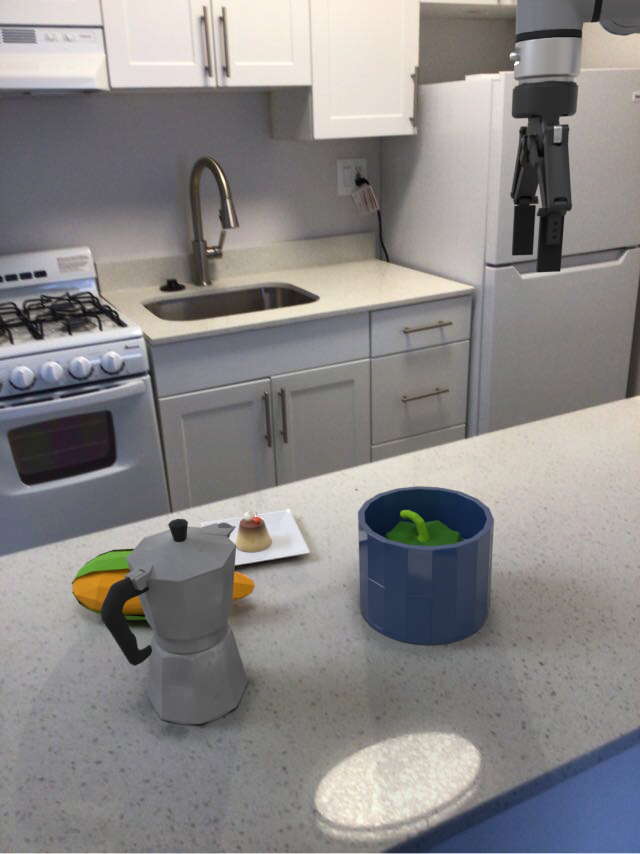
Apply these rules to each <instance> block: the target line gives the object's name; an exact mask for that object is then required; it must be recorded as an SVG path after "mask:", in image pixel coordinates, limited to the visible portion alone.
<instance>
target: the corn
mask: <svg viewBox="0 0 640 854" xmlns="http://www.w3.org/2000/svg"><path fill="white" fill-rule="evenodd" d="M134 549H135V547H134V548H120V549H119V548H118V549H117V548H116V549H112V550H109V551H105V552H103V553H100V554H98V555H96V556H94V557H93V558H92V559H90V560H89V561H87V562H86V563H85V564H84V565H83V566H82V567H80V569H79V570H78V572H77V573H76V575H75V576H74V578H73V579H72V582H71V583H70V584H71V587H72V595H73V596H74V598H75V599H76V601H77V603H78V604H79V605H81V606H82V607H83V608H84V609H86V610H87V611H89V612H92V613H95V614H97V615H99V616H101V607H102V604H103V602H104V600H105V598H106V596H107V593H108V591H109V589H110V587H111V586H112V585H113V584H114V583H116V582H118V581H120V580H122V579H124V578H125V575H126V574H128V573H129V572H131V571H130V568H129V565H128V562H127V560H126V558H127V557H128V555H129V554H130V553H131V552H132V551H133V550H134ZM255 588H256V584H255V583H254V581H253V579H251V578H250V577H248V576H247V575H246V574H244V573H242V572H238V571H236V570H234V584H233V598H232V603H233V602H236V601H239V600H242V599H244V598H246V597H247V596H249V595H251V594H252V593H253V591H254V589H255ZM122 613H123V614H124V615H125V617H126V619H127V621H147V620H146V617H145V614H144V611H143V608H142V605H141V602H140V599H139V596H136V597H134V598H131V599H130V600H128V601H127V602H126V603H125V604H124V607H123V610H122Z"/></svg>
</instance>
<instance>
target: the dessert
mask: <svg viewBox="0 0 640 854" xmlns="http://www.w3.org/2000/svg"><path fill="white" fill-rule="evenodd" d="M215 523H217V524H220V523H228V524H230V525H231V526H235V527H236V528H235V529H234V530H233V531H232V533H231V534H230V537H229V539H230V540H231V541H232V542H233V543H234V544H236V556H235V567H240V566H246V565H252V564H259V563H263V562H269V561H275V560H281V559H288V558H289V559H290V558H295V557H298V556H299V557H300V556H302V555H307V554H310V553H311V551H310V549H309V547H308V544H307V542H306V540H305V538H304V536H303V534H302V532H301V530H300V528H299V526H298V524H297V522H296V519H295V518H294V515H293V514H292V511H291V510H290V509H289V508H288V509H282V510H275V511H269V512H262V513H258V512H255V513H254V512H253V511H252V510H247V511H246V512H244V515H243V516H236V517H235V516H234V517H230V518H223V519H217V520H210V521H203V522H200V528H202V527H204V526H208V525H211V524H215Z"/></svg>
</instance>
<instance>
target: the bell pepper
mask: <svg viewBox="0 0 640 854" xmlns="http://www.w3.org/2000/svg"><path fill="white" fill-rule="evenodd" d="M400 516H401V517H402V519H410V520H412V521H413V522H414V523H415V524H414V523H409V522H402V521H400V522H399V523H398V524H397V525H396V526H395V527H394V528H393V529H392V531H391V532H389V533H386V535H385V537H384V538H386V539H388V540H392V541H396V542H400V543H404V544H408V545H419V546H439V545H448V544H455V543H458V542H461V541H463V540H462V537H461V535H460V533H459V532H456V531H453V530H451V529H449V528H448V527H447V526H445V525H444V524H443V523H441V522H440V521H439V520H436V521H430V522H424V520H423V519H422V518H421V517H420V516H419V515H418V514H417V513H415V512H412V511H410V510H403V511H401V512H400Z"/></svg>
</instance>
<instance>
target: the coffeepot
mask: <svg viewBox="0 0 640 854" xmlns="http://www.w3.org/2000/svg"><path fill="white" fill-rule="evenodd" d="M167 525H168V528H169V529H167V530H164V531H161V532H158V533H155V534H152V535H149V536H148V535H147V536H144V537H142V539H141V540H140V541H139V543H138V544H137V545H136V546H135V547H134V548H135V549H134V548H133V549H134V550H133V551H132V552H131V553H130V554H129V555H128V557H127V558H126V560H127V562H128V565H129V568H130V571H131V572H129V573H128V574H126V575H125V578H124V579H122V580H120V581H118V582H116V583H114V584H113V585H112V586H111V587H110V589H109V591H108V593H107V596H106V598H105V600H104V602H103V604H102V607H101V615H100V617H101V619H102V622H103V624H104V626H105V627H106V628H107V630H108V631H109V633H110V634H111V636H112V638H113V640H114V641H115V643H116V644H117V646H118V647H119V649H120V650H121V652H122V654H123V656H124V657H125V658H126V660H127V662H128V664H130V665H131V666H138V665H140V664H142V663H143V662H145V661H146V660H147V659H148V658H149V664H148V668H149V669H148V680H147V681H148V684H147V698H148V700H149V701H150V703H151V705H152V707H153V709H154V711H155V712H156V713H157V714H158V716H159V717H160V719H161V720H163V721H166V722H168V723H169V722H170V723H173V724H177V725H183V726H184V725H185V726H193V725H202V724H207V723H211V722H213V721H216V720H219V719H221V718H222V717H224V716H226V715H228V714H229V713H230V712H231V711H233V710H234V709H236V708H237V707H238V705H239V703H240V702H241V700H242V698H243V695H244V694H245V693H244V692H245V689H246V687H247V686H248V683H249V680H248V677H247V673H246V670H245V667H244V663H243V661H242V657H241V655H240V651H239V647H238V644H237V641H236V637H235V634H234V631H233V628H232V626H231V625H230V624H229V619H228V617H229V616H230V613H231V611H232V609H233V602H232V598H233V584H234V571H236V570H235V569H236V566H235V556H236V544H234V543H233V542H232V541H231V540H230V539H229V537H230V534H231V533H232V531H233V530H234V529H235V528H236V527H235V526H231V525H230V524H228V523H220V524H217V523H215V524H211V525H208V526H204V527H201V526H188V525H189V522H188V520H187V519H186V518H176V519H175V518H174V519H172V520H170V521H169V522H168V524H167ZM136 596H139V599H140V602H141V605H142V608H143V611H144V614H145V615H144V617H146V620H145V621H146V622H147V624H148V625H149V626H150V628H151V630H153V631H152V632H153V635H152V638H151V640H150V644H148V645H147V646H146V647H144V648H140V649H139V646H138V640H137V636H136V635H135V634H134V633H133V632H132V630H131V628H130V626H129V623H128V620H127V619H126V617H125V616H126V615H124V614H123V613H122V610H123V607H124V604H125V603H126V602H127V601H128V600H130V599H131V598H134V597H136Z"/></svg>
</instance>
